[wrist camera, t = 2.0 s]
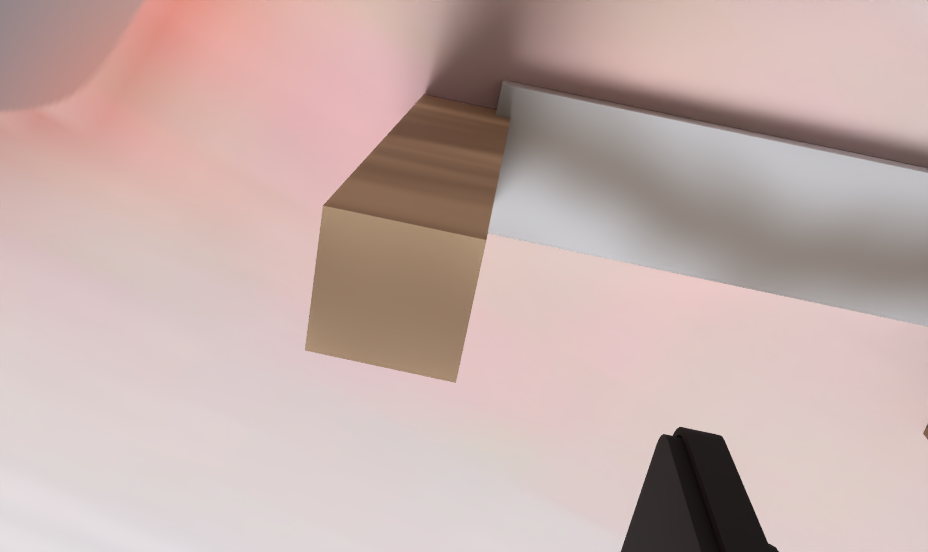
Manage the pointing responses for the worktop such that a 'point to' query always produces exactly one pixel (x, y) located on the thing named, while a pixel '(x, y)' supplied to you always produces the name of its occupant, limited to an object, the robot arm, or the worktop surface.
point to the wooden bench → (926, 432)
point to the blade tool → (600, 217)
